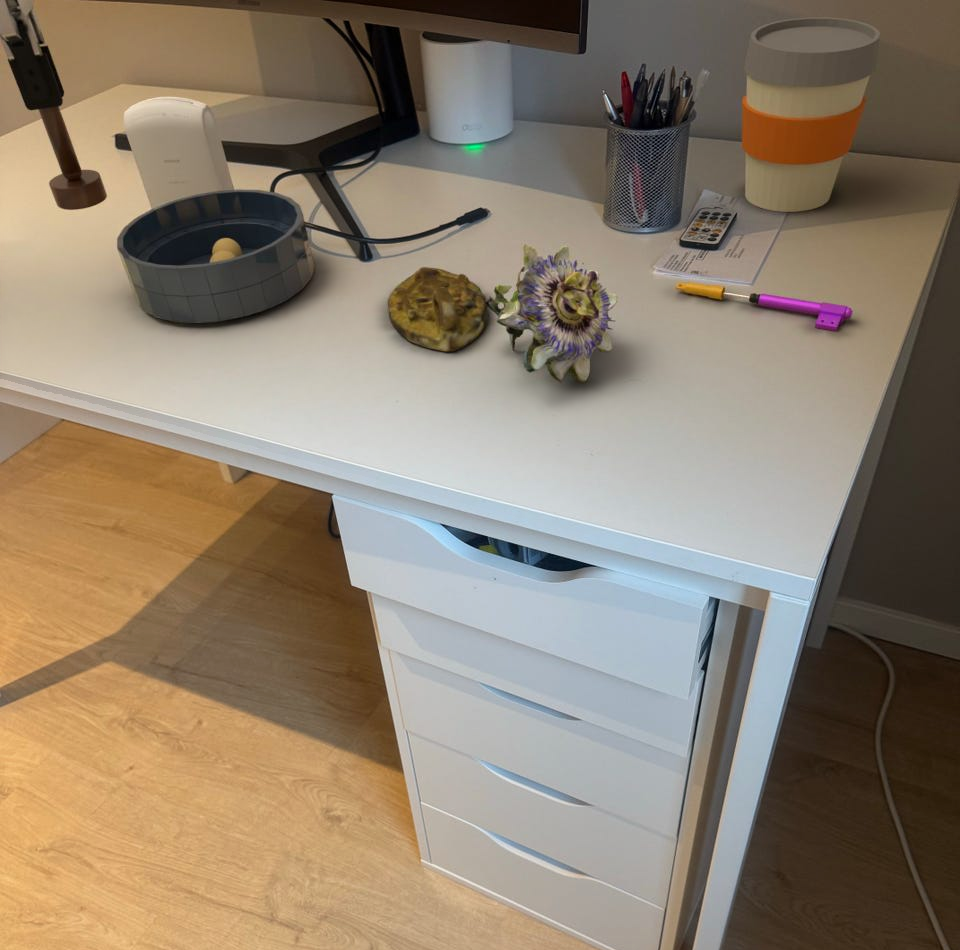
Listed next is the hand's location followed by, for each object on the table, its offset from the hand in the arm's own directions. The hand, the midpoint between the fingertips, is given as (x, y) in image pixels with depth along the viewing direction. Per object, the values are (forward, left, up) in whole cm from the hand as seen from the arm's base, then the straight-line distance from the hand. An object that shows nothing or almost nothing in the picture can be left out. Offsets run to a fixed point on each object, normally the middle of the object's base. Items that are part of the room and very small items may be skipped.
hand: (46, 101), depth 82 cm
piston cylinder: (+58, -30, -18) cm, 68 cm away
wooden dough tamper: (0, 0, -9) cm, 9 cm away
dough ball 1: (+12, -2, -15) cm, 20 cm away
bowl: (+11, -5, -18) cm, 21 cm away
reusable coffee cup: (+72, -9, -18) cm, 75 cm away
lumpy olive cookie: (+30, -20, -18) cm, 40 cm away
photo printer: (+9, +15, -18) cm, 25 cm away
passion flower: (+37, -32, -18) cm, 52 cm away
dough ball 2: (+12, -5, -15) cm, 20 cm away
